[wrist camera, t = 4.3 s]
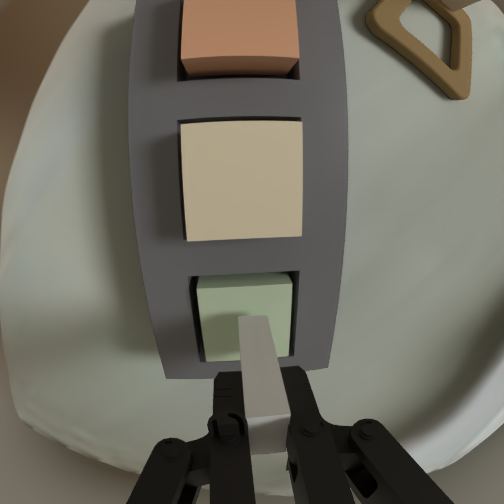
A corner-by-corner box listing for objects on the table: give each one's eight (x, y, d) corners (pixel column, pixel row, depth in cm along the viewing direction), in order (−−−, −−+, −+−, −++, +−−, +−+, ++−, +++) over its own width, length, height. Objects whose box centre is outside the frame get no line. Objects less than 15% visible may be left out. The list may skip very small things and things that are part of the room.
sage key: (281, 262, 18) (292, 283, 15) (280, 329, 19) (288, 356, 16) (201, 266, 17) (196, 288, 14) (208, 333, 19) (206, 361, 16)
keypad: (154, 8, 12) (139, -20, 9) (314, 6, 13) (333, -20, 10) (173, 343, 21) (166, 378, 17) (312, 335, 22) (327, 367, 18)
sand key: (287, 128, 14) (302, 121, 11) (287, 221, 15) (301, 236, 12) (189, 130, 13) (180, 124, 10) (194, 225, 15) (187, 241, 12)
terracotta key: (281, 3, 11) (292, -23, 8) (285, 75, 13) (299, 58, 10) (191, 4, 11) (186, -23, 8) (189, 77, 12) (180, 59, 9)
